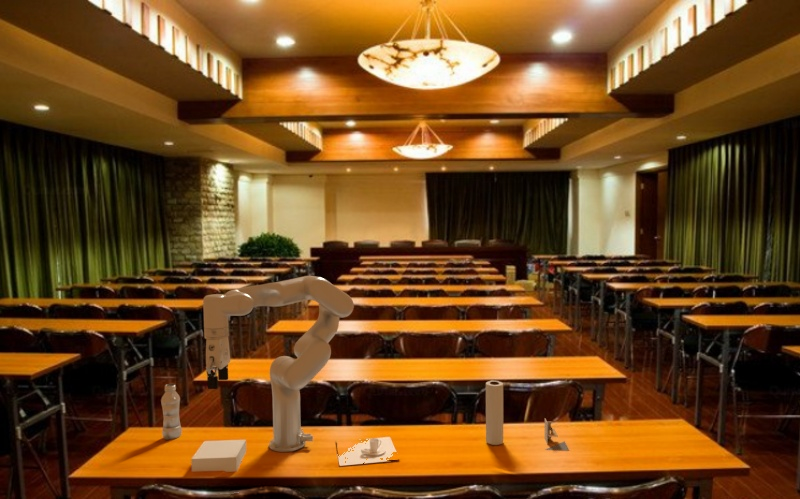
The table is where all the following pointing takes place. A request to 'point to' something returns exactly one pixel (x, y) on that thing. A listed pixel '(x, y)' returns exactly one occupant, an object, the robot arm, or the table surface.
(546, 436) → the architectural model
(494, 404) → the paper towel roll
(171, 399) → the plastic bottle
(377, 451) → the teacup and saucer
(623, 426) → the table surface
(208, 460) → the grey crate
